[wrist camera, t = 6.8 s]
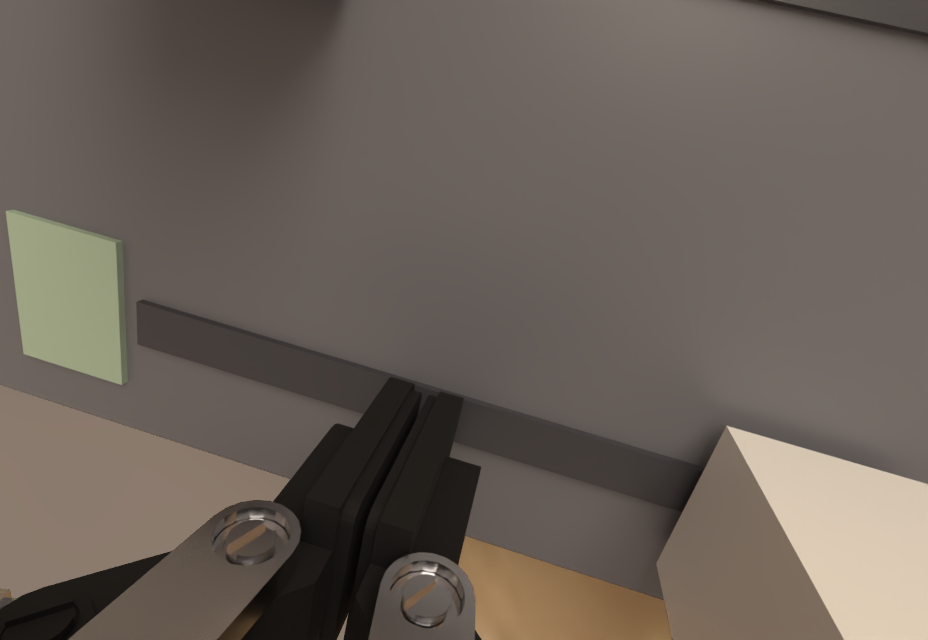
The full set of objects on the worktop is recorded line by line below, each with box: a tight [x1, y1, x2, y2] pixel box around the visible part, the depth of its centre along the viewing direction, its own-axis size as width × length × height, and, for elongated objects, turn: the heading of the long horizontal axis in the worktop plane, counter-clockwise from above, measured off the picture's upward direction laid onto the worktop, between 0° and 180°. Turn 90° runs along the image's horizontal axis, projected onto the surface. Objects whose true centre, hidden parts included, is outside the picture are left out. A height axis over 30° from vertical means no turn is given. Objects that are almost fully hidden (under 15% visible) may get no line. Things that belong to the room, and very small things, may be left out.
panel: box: [0, 0, 928, 600], centre depth 11 cm, size 30×17×2 cm, turn 77°
